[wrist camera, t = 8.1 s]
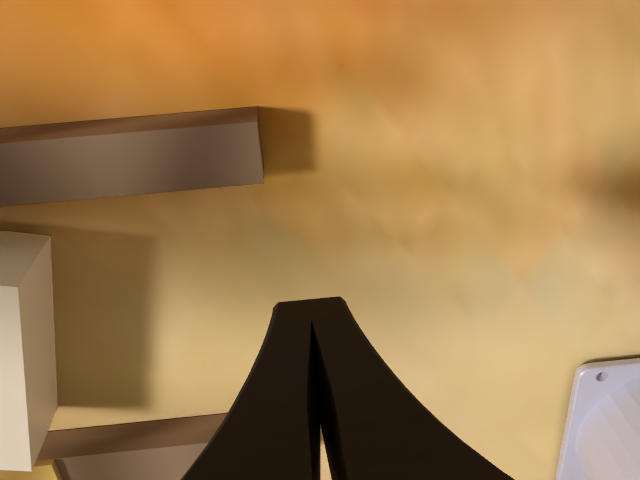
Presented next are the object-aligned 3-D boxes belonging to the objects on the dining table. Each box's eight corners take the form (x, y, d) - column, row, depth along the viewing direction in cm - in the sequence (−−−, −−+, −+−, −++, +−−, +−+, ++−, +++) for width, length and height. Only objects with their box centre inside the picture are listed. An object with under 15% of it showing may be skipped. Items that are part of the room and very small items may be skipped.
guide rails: (257, 106, 19) (256, 124, 18) (296, 440, 27) (297, 473, 25) (-229, 147, 19) (-273, 170, 17) (-53, 476, 26) (-73, 513, 25)
